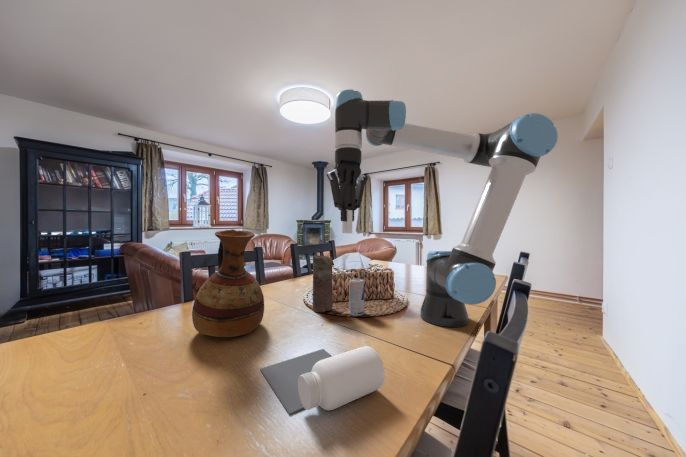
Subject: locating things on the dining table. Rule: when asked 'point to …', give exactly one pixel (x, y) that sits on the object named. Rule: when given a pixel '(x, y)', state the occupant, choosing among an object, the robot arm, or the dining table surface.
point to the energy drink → (356, 297)
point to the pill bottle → (341, 379)
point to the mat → (291, 378)
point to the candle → (322, 283)
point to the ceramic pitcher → (229, 292)
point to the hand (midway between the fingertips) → (347, 233)
